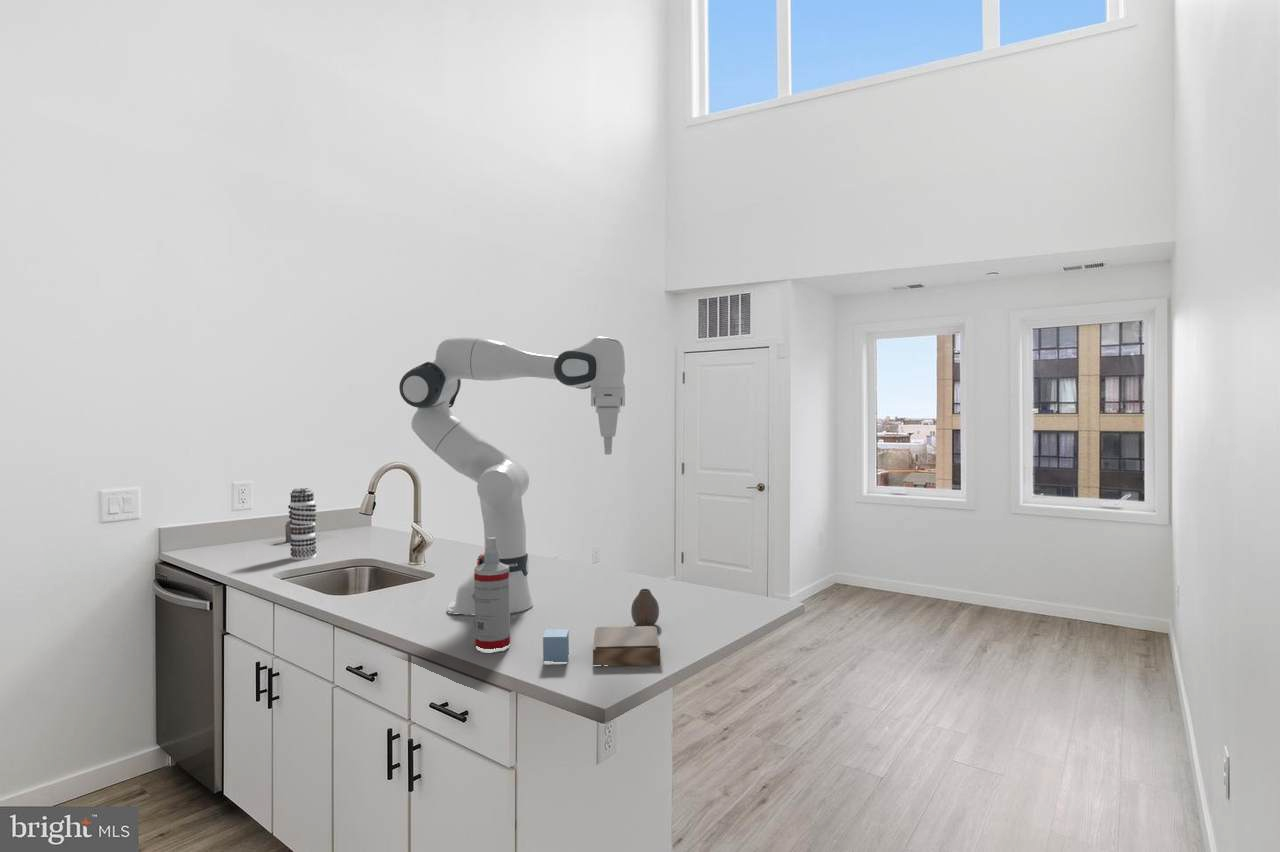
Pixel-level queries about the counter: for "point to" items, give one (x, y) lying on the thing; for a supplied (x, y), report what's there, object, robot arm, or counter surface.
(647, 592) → the vase
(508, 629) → the nozzle bottle
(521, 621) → the counter surface
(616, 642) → the walnut plinth
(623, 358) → the robot arm
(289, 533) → the architectural model on board
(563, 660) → the slate block
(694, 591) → the counter surface
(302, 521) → the decorative candle
